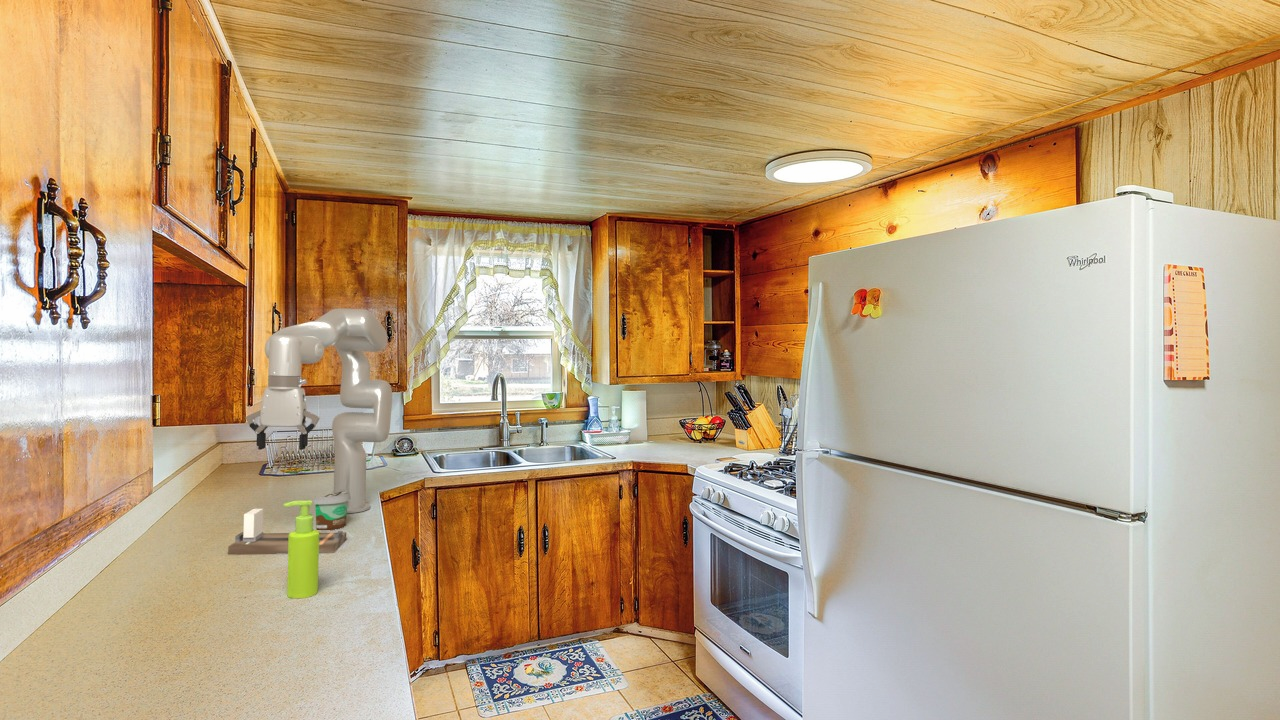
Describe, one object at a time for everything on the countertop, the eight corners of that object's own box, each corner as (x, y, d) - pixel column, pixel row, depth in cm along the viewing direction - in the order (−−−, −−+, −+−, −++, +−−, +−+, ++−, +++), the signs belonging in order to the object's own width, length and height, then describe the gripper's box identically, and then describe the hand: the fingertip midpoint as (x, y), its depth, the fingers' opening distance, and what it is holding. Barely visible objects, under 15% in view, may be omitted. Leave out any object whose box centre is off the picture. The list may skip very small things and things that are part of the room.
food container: (332, 533, 188) (333, 498, 188) (312, 531, 189) (313, 496, 189) (358, 523, 200) (359, 490, 200) (340, 521, 201) (341, 488, 201)
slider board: (247, 540, 179) (248, 528, 179) (346, 539, 183) (346, 526, 183) (228, 554, 167) (228, 540, 167) (333, 552, 171) (334, 539, 171)
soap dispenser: (282, 590, 144) (285, 499, 144) (318, 587, 147) (320, 497, 146) (280, 600, 139) (282, 505, 138) (316, 596, 141) (319, 503, 141)
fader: (251, 535, 176) (252, 508, 176) (263, 535, 177) (264, 508, 176) (242, 542, 170) (242, 514, 170) (254, 542, 171) (255, 514, 171)
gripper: (324, 383, 177) (322, 447, 177) (253, 381, 174) (251, 446, 174) (316, 384, 170) (314, 451, 170) (242, 382, 166) (239, 450, 166)
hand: (282, 449), depth 172 cm, fingers open, 9 cm apart
